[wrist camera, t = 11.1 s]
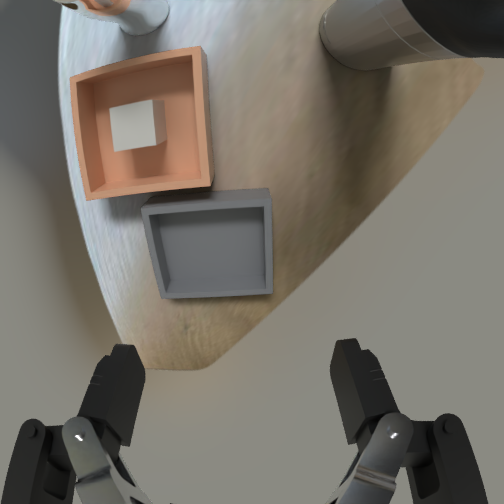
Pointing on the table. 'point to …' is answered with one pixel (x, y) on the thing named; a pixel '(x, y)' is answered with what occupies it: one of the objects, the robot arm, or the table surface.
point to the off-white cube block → (138, 124)
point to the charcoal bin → (211, 243)
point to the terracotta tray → (177, 124)
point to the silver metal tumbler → (123, 13)
